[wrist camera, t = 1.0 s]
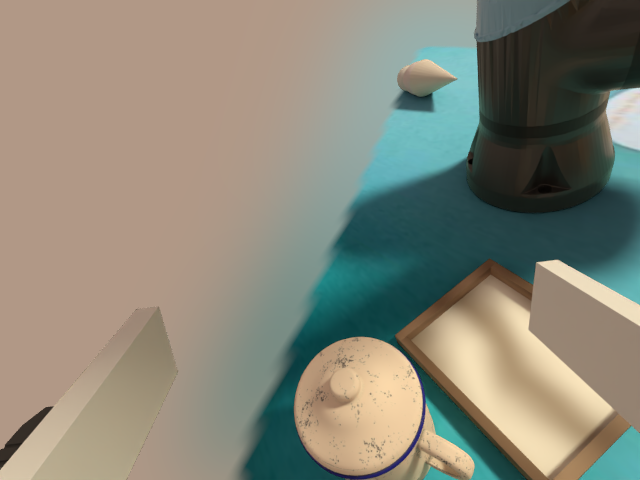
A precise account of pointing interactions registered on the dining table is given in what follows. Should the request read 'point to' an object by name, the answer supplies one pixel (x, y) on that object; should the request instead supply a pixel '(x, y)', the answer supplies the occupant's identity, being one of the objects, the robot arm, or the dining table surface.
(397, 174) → the dining table surface
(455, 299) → the walnut tray
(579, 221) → the dining table surface
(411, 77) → the ice cream cone
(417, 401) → the teacup with lid
